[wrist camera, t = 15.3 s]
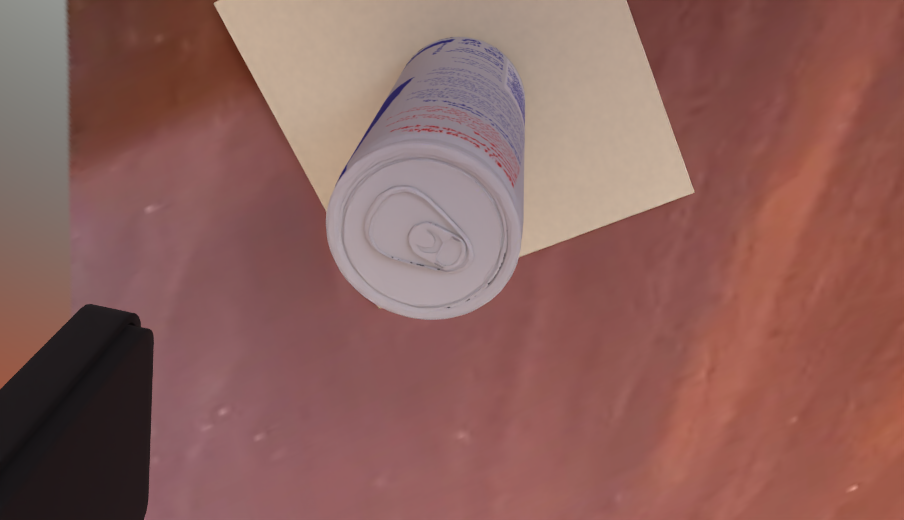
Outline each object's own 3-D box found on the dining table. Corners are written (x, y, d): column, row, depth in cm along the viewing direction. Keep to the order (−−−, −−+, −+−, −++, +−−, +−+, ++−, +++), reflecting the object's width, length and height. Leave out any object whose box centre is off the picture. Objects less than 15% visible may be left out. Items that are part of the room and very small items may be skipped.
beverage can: (389, 40, 36) (305, 147, 22) (521, 28, 35) (515, 132, 22) (405, 164, 38) (338, 330, 25) (529, 156, 38) (529, 321, 24)
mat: (216, 1, 36) (212, 3, 36) (565, -172, 32) (565, -172, 32) (380, 305, 42) (378, 309, 42) (693, 189, 38) (695, 192, 38)
